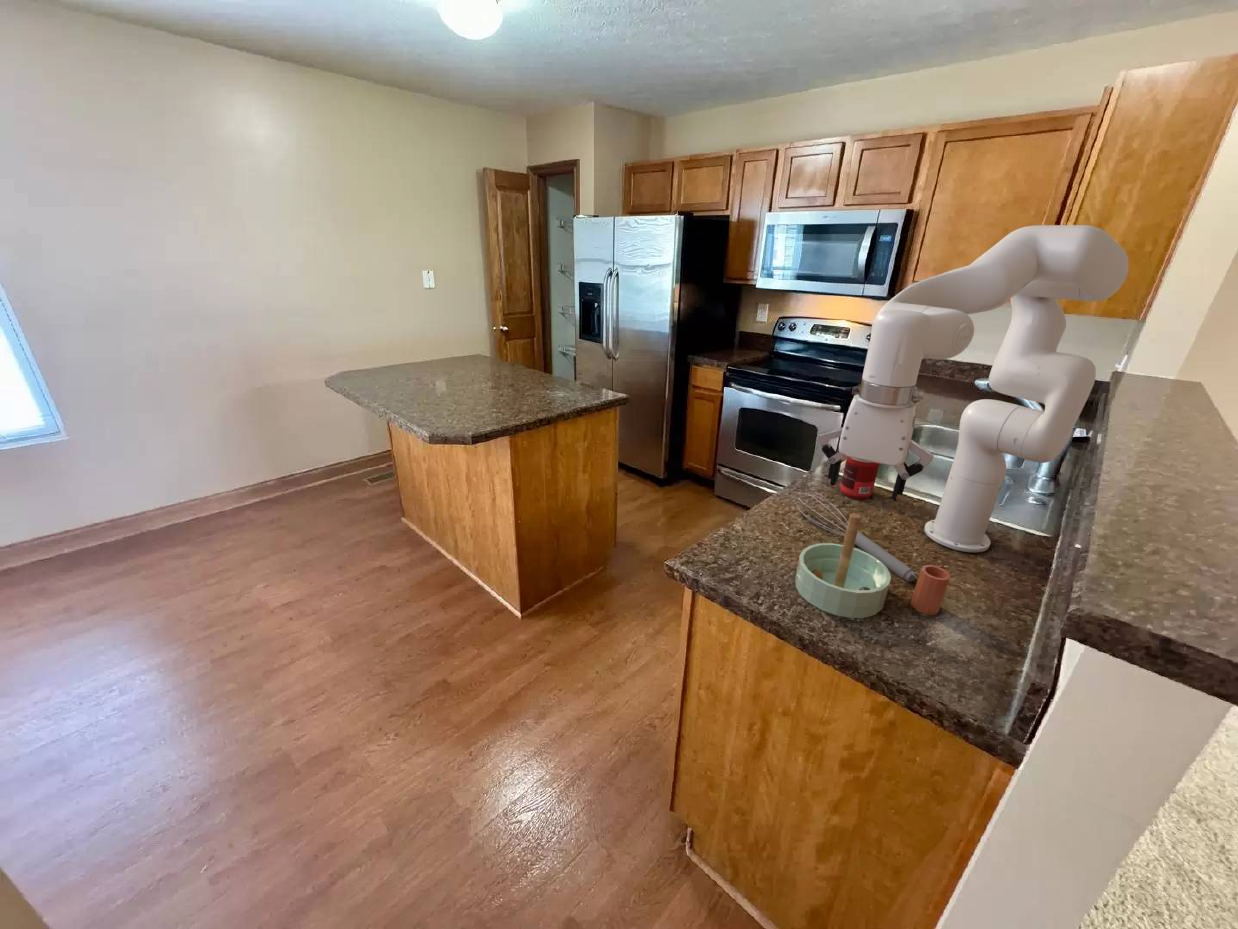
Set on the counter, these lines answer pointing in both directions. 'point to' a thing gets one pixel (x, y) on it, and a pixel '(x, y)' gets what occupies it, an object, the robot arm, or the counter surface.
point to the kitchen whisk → (870, 547)
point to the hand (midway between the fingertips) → (863, 489)
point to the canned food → (859, 478)
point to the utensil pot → (930, 589)
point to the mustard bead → (817, 573)
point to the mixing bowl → (859, 575)
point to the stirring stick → (847, 549)
